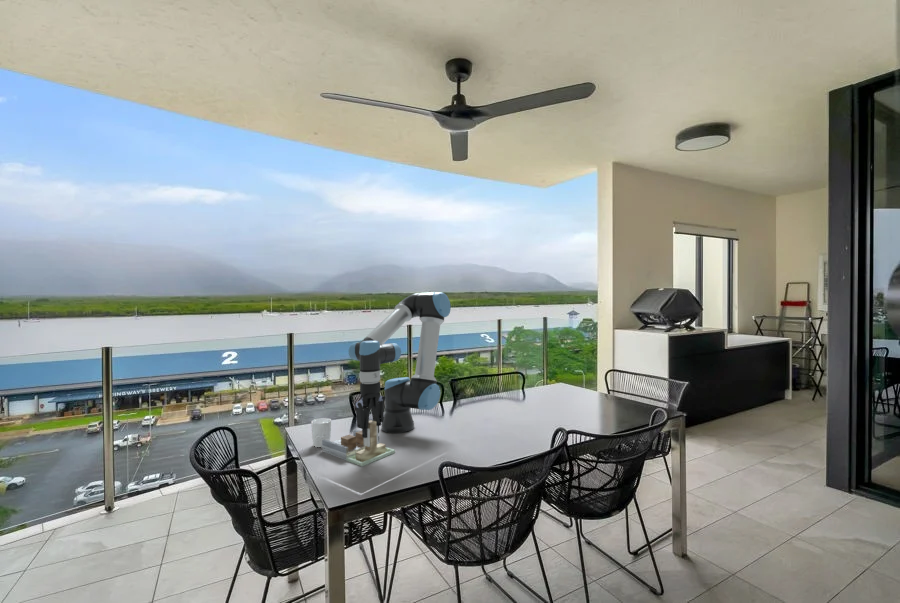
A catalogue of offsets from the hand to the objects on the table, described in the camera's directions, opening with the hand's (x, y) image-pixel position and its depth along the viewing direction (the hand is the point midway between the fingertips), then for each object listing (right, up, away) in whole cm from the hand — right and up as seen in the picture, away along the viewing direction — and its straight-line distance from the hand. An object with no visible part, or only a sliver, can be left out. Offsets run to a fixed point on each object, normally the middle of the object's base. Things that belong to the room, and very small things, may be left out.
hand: (371, 444), depth 148 cm
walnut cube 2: (-5, -2, +8) cm, 10 cm away
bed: (-9, -5, +7) cm, 13 cm away
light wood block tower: (0, -5, 0) cm, 5 cm away
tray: (0, -5, 0) cm, 5 cm away
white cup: (-23, -6, +15) cm, 28 cm away
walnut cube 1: (-9, -2, +3) cm, 10 cm away
